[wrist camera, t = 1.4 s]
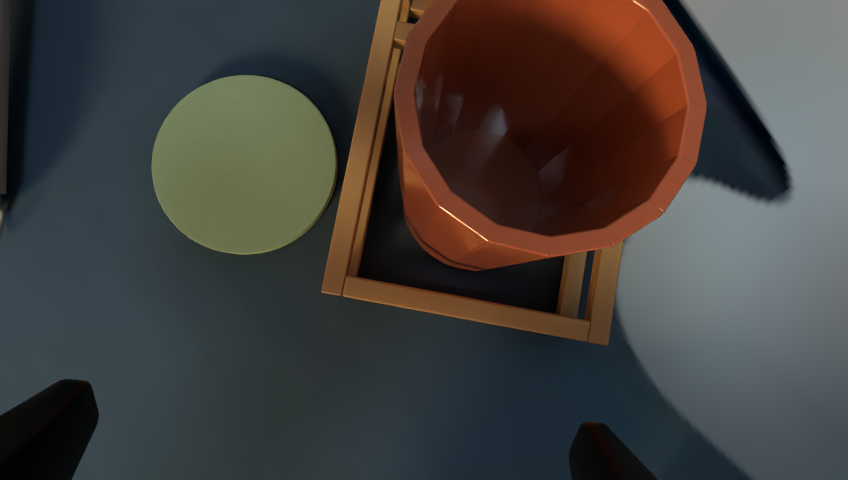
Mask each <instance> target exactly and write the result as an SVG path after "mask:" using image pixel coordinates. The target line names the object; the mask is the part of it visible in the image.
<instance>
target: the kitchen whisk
mask: <svg viewBox="0 0 848 480" xmlns="http://www.w3.org/2000/svg"><path fill="white" fill-rule="evenodd" d="M10 22H11V0H0V203H1V195H5V194H6V180H7V140H8V101H9V61H10ZM3 220H4V211H3V209H2V208H1V207H0V229H1V226H2V223H3Z"/></svg>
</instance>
